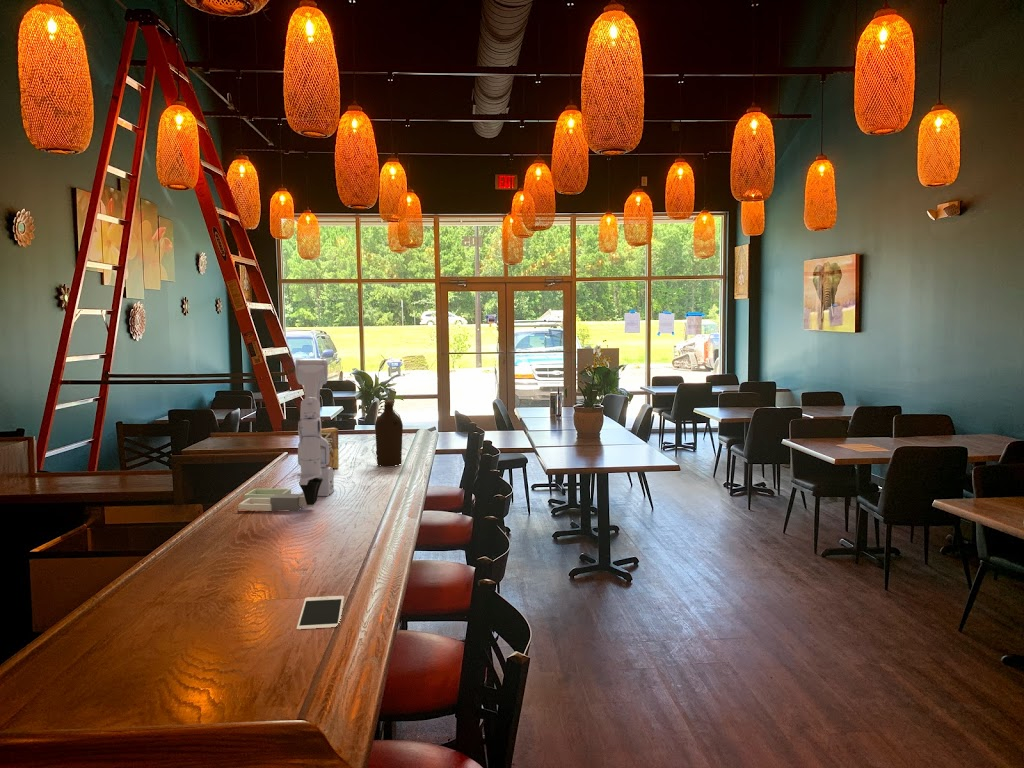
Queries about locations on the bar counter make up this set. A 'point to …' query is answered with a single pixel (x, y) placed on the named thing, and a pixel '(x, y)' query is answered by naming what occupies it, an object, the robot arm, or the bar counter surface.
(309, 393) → the robot arm
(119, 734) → the bar counter surface
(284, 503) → the block on a stick
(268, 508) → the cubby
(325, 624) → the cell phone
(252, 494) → the tray
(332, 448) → the candy box
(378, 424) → the olive oil
